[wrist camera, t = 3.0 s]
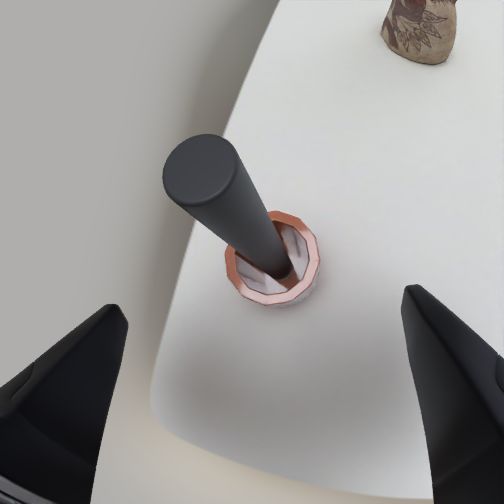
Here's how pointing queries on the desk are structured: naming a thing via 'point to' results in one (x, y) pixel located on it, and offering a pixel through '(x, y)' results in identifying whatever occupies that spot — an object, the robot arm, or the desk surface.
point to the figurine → (421, 29)
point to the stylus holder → (300, 253)
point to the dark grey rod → (225, 201)
